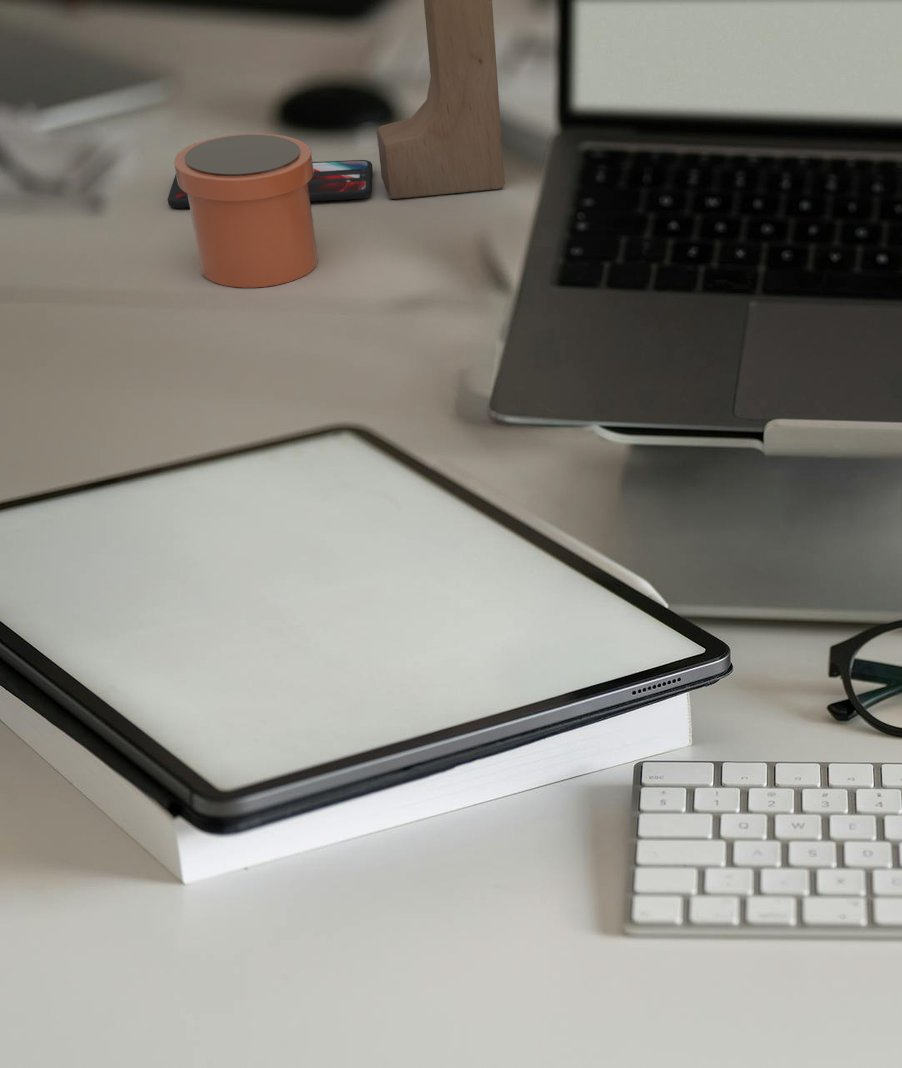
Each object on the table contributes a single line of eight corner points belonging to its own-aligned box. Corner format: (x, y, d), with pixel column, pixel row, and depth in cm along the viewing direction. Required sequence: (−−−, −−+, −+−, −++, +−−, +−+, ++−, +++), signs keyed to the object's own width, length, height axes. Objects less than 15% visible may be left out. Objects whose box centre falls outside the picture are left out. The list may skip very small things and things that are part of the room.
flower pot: (178, 290, 116) (157, 177, 112) (211, 238, 124) (193, 130, 119) (311, 291, 117) (295, 178, 112) (336, 239, 124) (322, 131, 120)
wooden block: (389, 201, 131) (363, -38, 121) (381, 180, 134) (355, -54, 124) (505, 189, 133) (489, -46, 123) (494, 169, 137) (478, -61, 127)
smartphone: (176, 167, 133) (372, 158, 136) (178, 175, 134) (373, 166, 136) (165, 202, 127) (370, 192, 130) (166, 210, 128) (371, 200, 130)
